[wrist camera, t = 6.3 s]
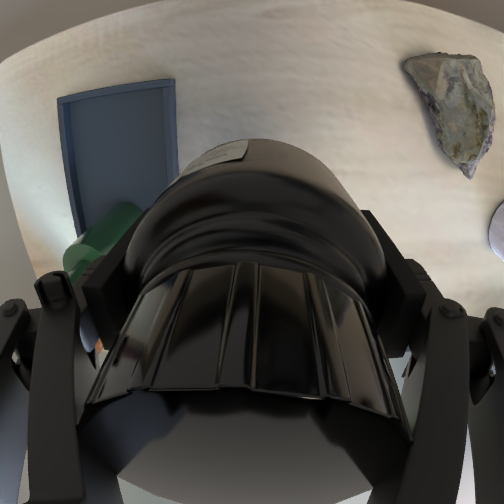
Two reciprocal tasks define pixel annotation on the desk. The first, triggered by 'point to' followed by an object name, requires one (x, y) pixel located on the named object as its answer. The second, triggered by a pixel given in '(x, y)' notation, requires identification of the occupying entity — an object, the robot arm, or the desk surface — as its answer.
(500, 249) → the soap bottle
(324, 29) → the desk surface
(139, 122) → the tray
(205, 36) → the desk surface
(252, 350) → the ink bottle
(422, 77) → the mineral rock
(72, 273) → the green bottle
